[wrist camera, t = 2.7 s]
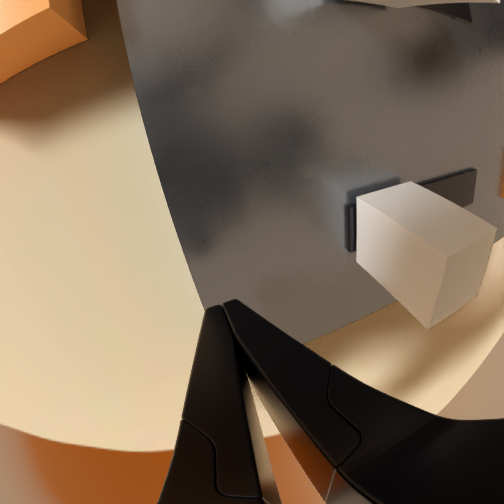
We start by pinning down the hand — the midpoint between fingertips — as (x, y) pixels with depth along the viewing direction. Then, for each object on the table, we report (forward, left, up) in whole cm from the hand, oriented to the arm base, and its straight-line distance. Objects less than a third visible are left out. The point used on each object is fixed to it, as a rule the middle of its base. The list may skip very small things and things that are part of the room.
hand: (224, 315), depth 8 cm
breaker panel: (-10, -4, -4) cm, 12 cm away
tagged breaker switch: (-6, 0, -2) cm, 7 cm away
